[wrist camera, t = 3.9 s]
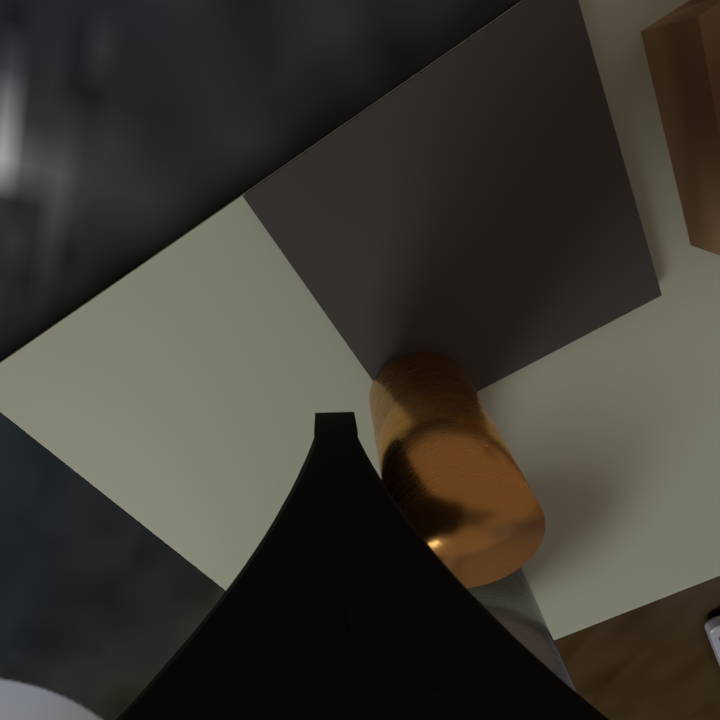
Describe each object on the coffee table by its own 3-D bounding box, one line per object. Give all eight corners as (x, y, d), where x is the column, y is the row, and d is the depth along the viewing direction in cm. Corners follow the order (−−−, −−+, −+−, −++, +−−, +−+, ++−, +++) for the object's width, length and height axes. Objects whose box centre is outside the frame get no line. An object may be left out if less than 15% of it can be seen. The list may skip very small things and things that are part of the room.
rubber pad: (651, 290, 11) (661, 295, 11) (404, 419, 13) (406, 428, 12) (558, -25, 8) (569, -31, 8) (245, 193, 9) (242, 196, 9)
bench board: (898, 479, 16) (924, 495, 16) (374, 689, 21) (376, 709, 20) (901, -264, 8) (961, -303, 7) (-12, 369, 12) (-33, 386, 11)
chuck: (543, 596, 17) (652, 832, 11) (403, 654, 18) (438, 894, 12) (478, 499, 14) (577, 744, 9) (318, 574, 15) (316, 832, 10)
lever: (475, 527, 14) (533, 685, 10) (391, 540, 14) (418, 703, 10) (469, 343, 11) (549, 468, 7) (362, 360, 11) (383, 495, 7)
